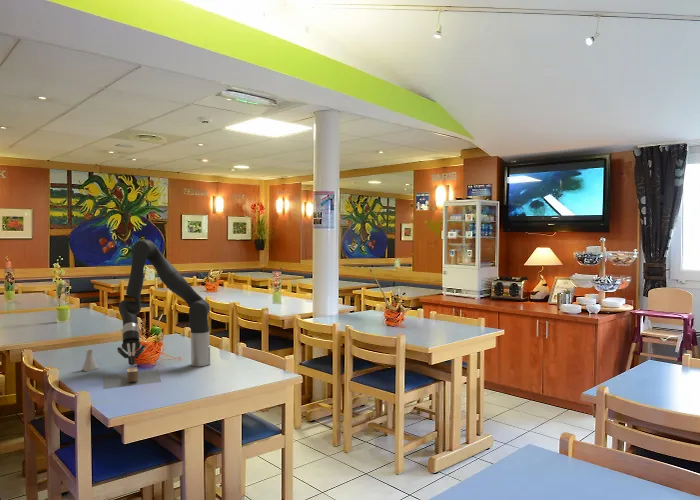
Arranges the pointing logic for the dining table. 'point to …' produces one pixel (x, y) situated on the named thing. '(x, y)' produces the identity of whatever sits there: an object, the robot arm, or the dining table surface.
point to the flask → (89, 362)
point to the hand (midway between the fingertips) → (131, 364)
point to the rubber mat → (121, 381)
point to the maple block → (132, 374)
